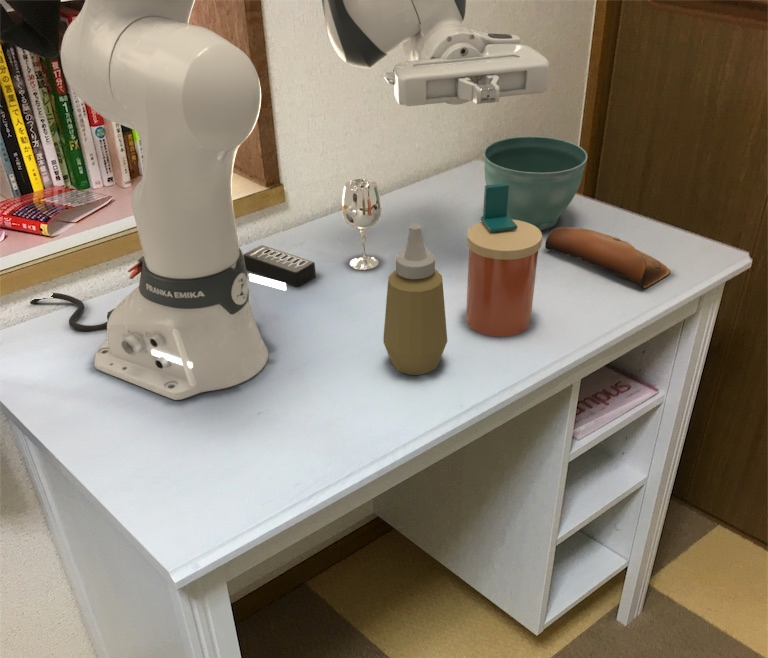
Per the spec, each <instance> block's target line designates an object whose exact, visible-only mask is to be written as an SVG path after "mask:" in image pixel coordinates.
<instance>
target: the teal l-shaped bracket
mask: <svg viewBox="0 0 768 658" xmlns="http://www.w3.org/2000/svg"><path fill="white" fill-rule="evenodd" d="M508 192H509V185H508V184H507V183H503V184H495V185H487V186H486V185H484V194H483V209H482V212H483V213H482V216H480V222H483V223H484V225H485V226H486V227H487V229H488V230H489V231H490V232H496V231H503V230H511V229H517V225H516V224H515V223H514V221H513V220H512V219H511V218H510V217H509V215H508V214H507V205H508Z"/></svg>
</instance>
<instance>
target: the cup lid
mask: <svg viewBox="0 0 768 658" xmlns="http://www.w3.org/2000/svg"><path fill="white" fill-rule="evenodd" d="M512 220H513V219H512ZM513 221H514V223H515V224H516V225H517V229H511V230H503V231H496V232H490V231H489V230H488V229H487V227H486V226H485V225H484V223H483V222H482V221H480V222H478V223H476V224H474V225H472V226H470V228H469V229H468V230H467V235H466V236H467V238H466V244H467V247H468V249H469V248H470V250H472V251H473V252H474V253H476V254H478V255H481V256H483V257H487V258H492V259H500V260H512V259H520V258H524V257H528V256H530V255H533V254H534V253H536V252H537V251H538V252H539V250H540V249H541V247H542V242H543V233H542V230H539V229H538V228H537V227H536V226H534V225H532V224H530V223H527V222H523V221H519V220H513Z"/></svg>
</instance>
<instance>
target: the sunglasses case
mask: <svg viewBox="0 0 768 658" xmlns="http://www.w3.org/2000/svg"><path fill="white" fill-rule="evenodd" d="M544 247H545V249H546V250H548V251H554V252H555V253H559V254H562V255H567V256H570V257H572V258H576V259H580V260H581V261H584V262H586V263H588V264H590V265H593V266H595V267H599V268H602V269H604V270H606V271H608V272H610V273H612V274H615V275H618V276H620V277H623V278H624V279H627V280H630V281H632V282H633V283H636V284H638V285H640V286H641V287H642V288H643V289H647V288H649V287H651V286H654V285H656V284H657V283H658V282H660V281H662V280H663V279H664V278H666V277H668V276H669V275H670V273H671V269H669V268H668V266H666V265H665V264H664V263H663V262H662V261H660V260H658V259H656V258H655V257H653V256H651V255H649V254H647V253H645V252H642V251H641V250H639V249H636V247H635V246H634V245H632V244H631V243H630V242H628V241H625V240H622V239H620V238H619V237H615V236H612V235H610V234H607V233H606V234H605V233H603V232H599V231H596V230H593V229H588V228H581V227H572V226H571V227H567V226H565V227H555V228H554V229H552V230H551V231H550V232H549V233H548V235H547V236H546V240H545V243H544Z"/></svg>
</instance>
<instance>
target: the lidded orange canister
mask: <svg viewBox="0 0 768 658" xmlns="http://www.w3.org/2000/svg"><path fill="white" fill-rule="evenodd" d="M538 257H539V250H538V251H537V252H536V253H534V254H533V255H530V256H528V257H524V258H520V259H512V260H500V259H492V258H487V257H483V256H481V255H478V254H476V253H474V252H473V251H472V250H470V248H469V247H468V265H467V266H468V268H467V286H466V289H467V290H466V309H465V322H466V324H467V326H468V327H469V328H470V329H471V330H472V331H474V332H476V333H478V334H480V335H484V336H488V337H495V338H496V337H499V338H500V337H504V338H505V337H512V336H515V335H518V334H521V333H523V332H525V331H526V330H527V329H529V327H530V325H531V321H532V314H533V313H532V312H533V304H534V303H533V302H534V294H535V283H536V275H537V265H538Z"/></svg>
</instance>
